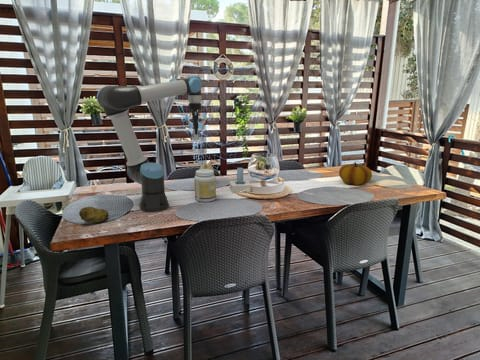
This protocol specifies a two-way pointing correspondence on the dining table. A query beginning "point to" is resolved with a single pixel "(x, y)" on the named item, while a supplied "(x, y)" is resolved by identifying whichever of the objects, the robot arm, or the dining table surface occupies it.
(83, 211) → the potato
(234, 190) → the socket block
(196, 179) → the supplement tub
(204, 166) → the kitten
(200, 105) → the robot arm
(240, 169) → the peg
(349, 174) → the decorative pumpkin
